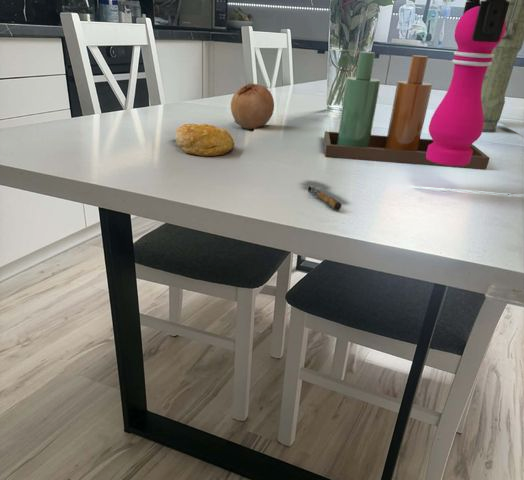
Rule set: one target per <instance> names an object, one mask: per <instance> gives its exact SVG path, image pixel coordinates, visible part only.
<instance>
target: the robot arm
mask: <svg viewBox="0 0 524 480" xmlns="http://www.w3.org/2000/svg"><path fill="white" fill-rule="evenodd" d="M509 3H510V0H485V1H481V3H480V0H466V1H465V4H464V9H463V13H462V15H463V14H464V13H465V12H466V11H468V10H470V9H471V8H474V7H477V6H480V7H479V11H478V15H477V19H476V24H475V28H474V32H473V36H472V40H473V41H479V42H498V41H499V40H500V37H501V33H502V29H503V25H504V22H505V18H506V14H507V11H508V7H509Z"/></svg>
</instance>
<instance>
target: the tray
mask: <svg viewBox="0 0 524 480" xmlns="http://www.w3.org/2000/svg"><path fill="white" fill-rule="evenodd" d="M338 134H339V131H328V130H327V131H325V130H324V135H323V151H324V157H325V158H330V159H340V160H341V159H342V160H344V159H345V160H355V161H356V160H358V161H368V162H369V161H370V162H382V163H391V164H392V163H394V164H407V165H419V166H431V167H433V166H434V167H444V168H446V167H447V168H456V169H468V170H469V169H471V170H482V171H486V170H487V168H488V166H489V162H490V158H491V157H490V156H489V155H487V154H485V153H484V152H483V151H482V150H481V149H479V148H478V147H477V146H475V144H474V143H472V144H471V145H470V148H471V149H472V150H473V153H472V156H471V160H470V163H469V164H466V165H444V164H439V163H434V162H431V161H429V160H427V158H426V153H427V149H428V145H429V144H431V143H433V139H432V138H431V139H429V138H420V142H419V146H418V150H417V151H408V150H395V149H385V144H386V139H387V135H379V134H371V139H370V145H369V147H356V146H343V145H337V142H338Z"/></svg>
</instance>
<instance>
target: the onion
mask: <svg viewBox="0 0 524 480" xmlns="http://www.w3.org/2000/svg"><path fill="white" fill-rule="evenodd" d="M274 110H275V100H274V97H273V94H272V92H271V91H270V90H269V89H268V87H266V86H265V85H262V84H259V83H253V82H249V83H247V84H245V85H243V86H241V87H240V88H238V89H237V90H235V92H234V94H233V95H232V97H231V100H230V111H231V115H232V118H233V120H234V123H235V124H236V125H238V126H240V127H241V128H243V129H247V130H255V129H258V128H262V127H264V126H266V125H267V124H268V123H269V122H270V120H271V118H272V117H273V114H274Z"/></svg>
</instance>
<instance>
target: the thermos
mask: <svg viewBox="0 0 524 480" xmlns="http://www.w3.org/2000/svg"><path fill="white" fill-rule="evenodd" d="M505 20H506V29H505V33H504V36H503V38H502V40H501V42H500V43H499V44H498V45H497V46H496V47H495V48H494V49H493V51H492V53H493V54H494V57H493V58H492V61H491V62H492V65H490V66H488V68H487V70H486V73H485V76H484V79H483V84H482V89H481V101H482V108H483V115H484V125H483V130H482V133H494V132H496V130H497V125H498V122H499V121H500V119H501V116H502V112H503V110H504V106H505V103H506V92H507V89H508V85H509V83H510V79H511V76H512V73H513V69H514V66H515V63H516V60H517V57H518V54H519V52H520V51H521V50H522V47H523V44H524V0H510V3H509V7H508V11H507V14H506V18H505Z"/></svg>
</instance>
